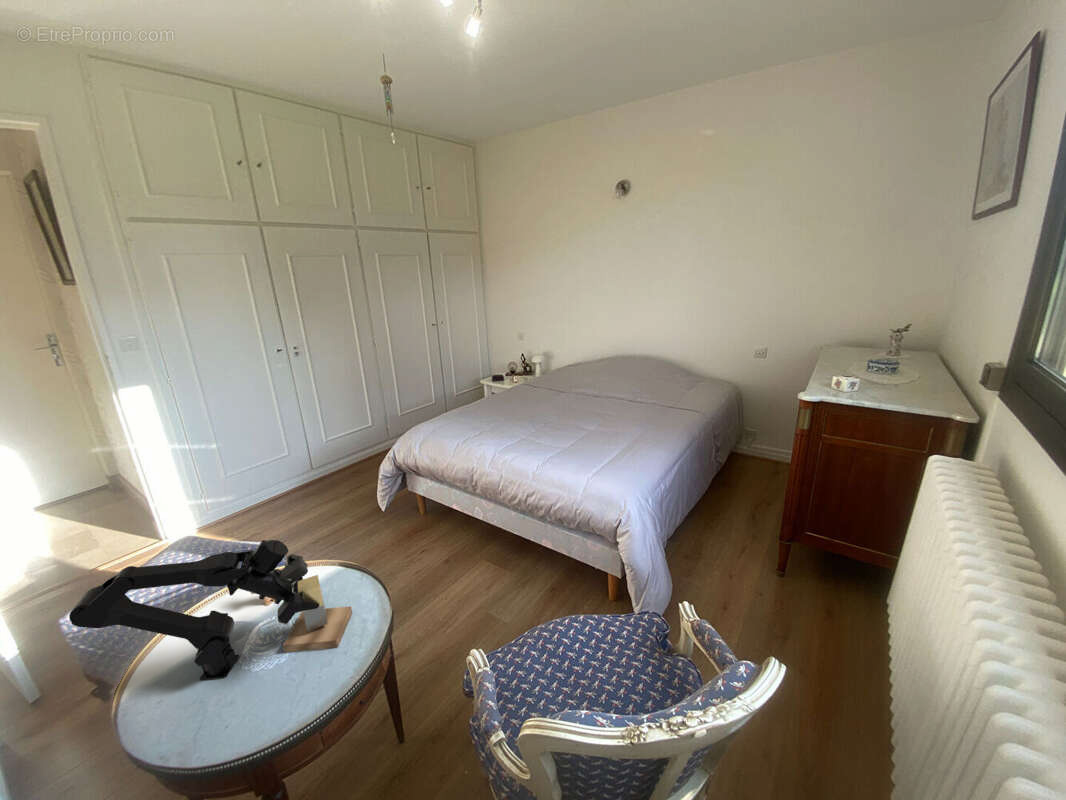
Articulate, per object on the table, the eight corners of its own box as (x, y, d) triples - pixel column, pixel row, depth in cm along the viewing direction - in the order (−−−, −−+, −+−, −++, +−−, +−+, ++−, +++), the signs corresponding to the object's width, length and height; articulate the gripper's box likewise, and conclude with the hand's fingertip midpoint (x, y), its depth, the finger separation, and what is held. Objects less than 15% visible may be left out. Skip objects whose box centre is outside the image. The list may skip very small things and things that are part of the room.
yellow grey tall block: (307, 631, 117) (298, 592, 113) (306, 618, 121) (297, 581, 117) (327, 623, 119) (318, 585, 115) (326, 611, 123) (317, 574, 119)
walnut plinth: (285, 652, 115) (283, 645, 114) (304, 617, 127) (302, 610, 126) (338, 647, 116) (336, 640, 115) (352, 612, 127) (350, 606, 127)
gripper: (283, 577, 103) (340, 596, 112) (283, 537, 119) (333, 557, 127) (252, 616, 102) (312, 633, 110) (257, 571, 118) (309, 588, 126)
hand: (317, 600), depth 119 cm, fingers closed on yellow grey tall block, 5 cm apart
